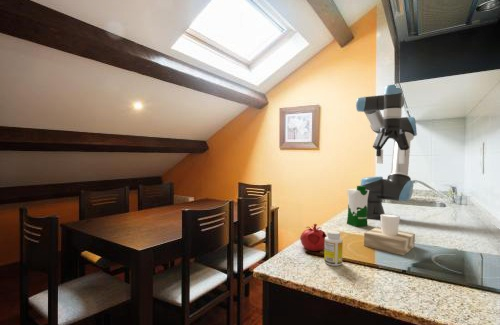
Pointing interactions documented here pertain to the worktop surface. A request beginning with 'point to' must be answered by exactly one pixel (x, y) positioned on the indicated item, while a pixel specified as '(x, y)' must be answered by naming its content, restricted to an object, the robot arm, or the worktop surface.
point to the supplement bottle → (333, 248)
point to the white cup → (389, 224)
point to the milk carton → (357, 206)
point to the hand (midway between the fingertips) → (390, 163)
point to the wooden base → (389, 241)
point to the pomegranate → (313, 239)
